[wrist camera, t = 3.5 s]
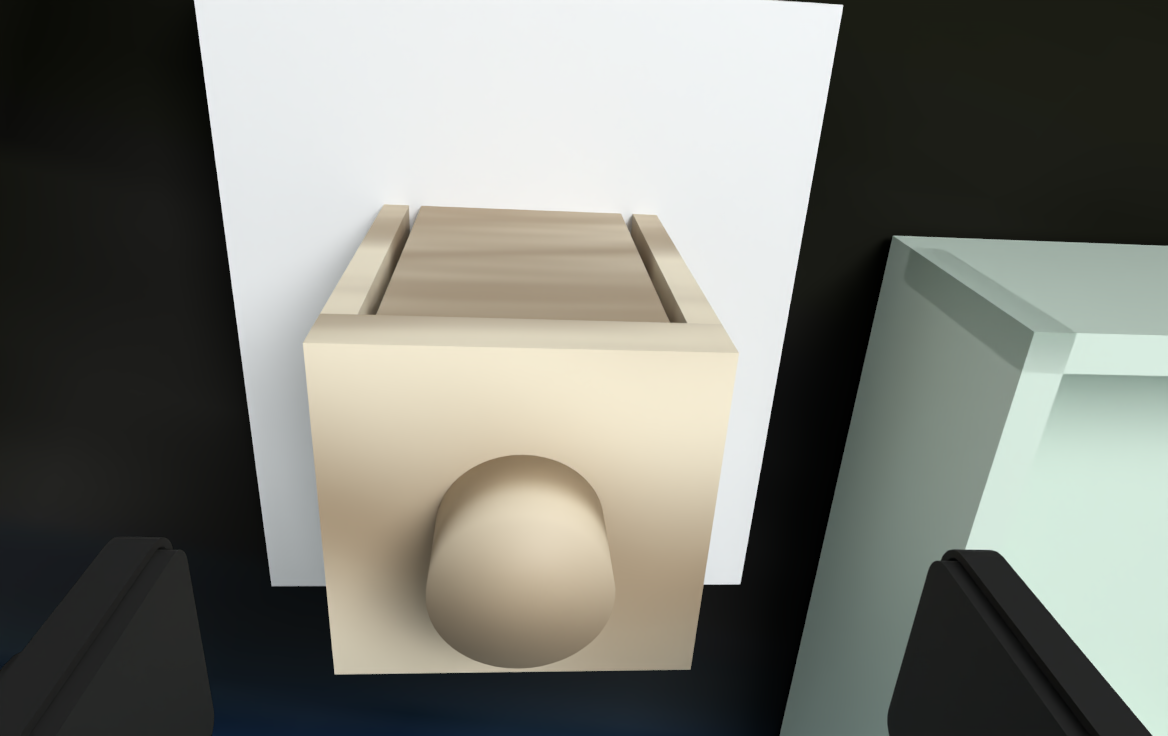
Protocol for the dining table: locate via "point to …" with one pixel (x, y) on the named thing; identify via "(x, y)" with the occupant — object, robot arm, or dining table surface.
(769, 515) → the dining table surface
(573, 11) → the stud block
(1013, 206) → the dining table surface
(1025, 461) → the bin
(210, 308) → the dining table surface
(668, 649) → the drawer
